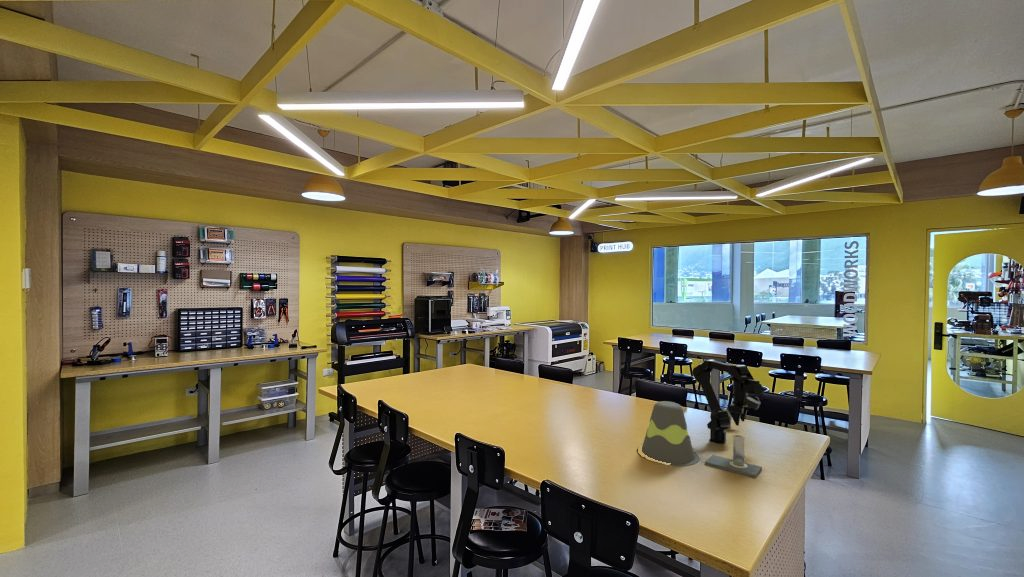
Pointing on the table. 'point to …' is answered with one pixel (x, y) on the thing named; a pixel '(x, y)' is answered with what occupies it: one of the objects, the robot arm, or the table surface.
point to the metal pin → (738, 450)
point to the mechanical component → (729, 416)
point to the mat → (733, 466)
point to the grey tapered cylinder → (669, 436)
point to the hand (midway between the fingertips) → (740, 423)
